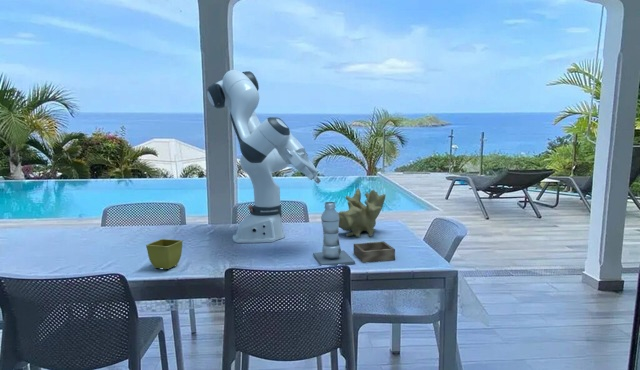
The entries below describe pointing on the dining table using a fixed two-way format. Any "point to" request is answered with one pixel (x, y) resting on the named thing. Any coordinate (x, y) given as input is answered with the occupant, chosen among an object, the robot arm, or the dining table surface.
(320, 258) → the rubber mat
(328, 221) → the plastic bottle
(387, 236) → the dining table surface
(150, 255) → the flower pot
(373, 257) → the walnut collar
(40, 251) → the dining table surface
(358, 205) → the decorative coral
